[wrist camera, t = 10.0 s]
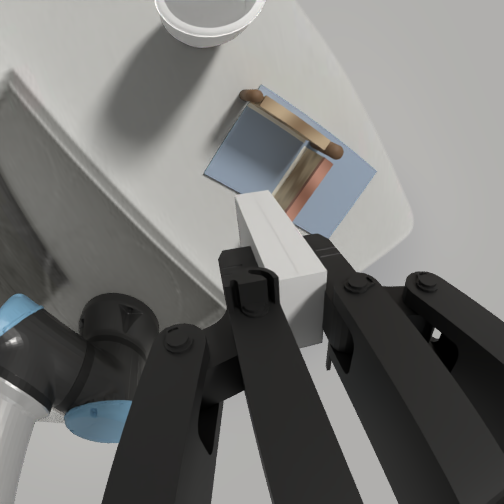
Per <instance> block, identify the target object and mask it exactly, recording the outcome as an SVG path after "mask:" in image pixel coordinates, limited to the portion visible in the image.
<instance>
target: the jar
mask: <svg viewBox="0 0 504 504" xmlns="http://www.w3.org/2000/svg"><path fill="white" fill-rule="evenodd" d="M154 1H155V5H156V8H157V10H158V12H159V15H160V18H161V21H162V23H163V25H164V27H165V28H166V30H167V31H168V32H169V33H170V34H171V35H172V36H173V37H174V38H176V39H177V40H179V41H181V42H183V43H185V44H187V45H189V46H192V47H197V48H207V47H213V46H218V45H221V44H224V43H226V42H228V41H230V40H232V39H234V38H235V37H237V36H238V35H239V34H241V33H242V32H243V31H244V30H245V29H246V28H247V26H248V25H249V24H250V23H251V22H252V21H253V20H254V19H255V18H256V17H257V16H258V15H259V13H260V12H261V10H262V9H263V7H264V4H265V2H266V0H154Z"/></svg>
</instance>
